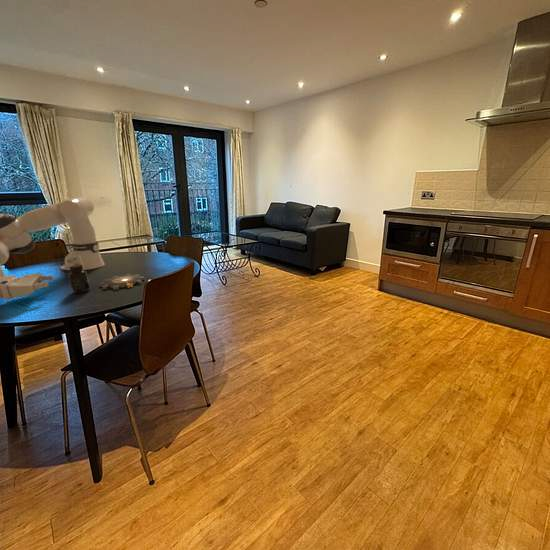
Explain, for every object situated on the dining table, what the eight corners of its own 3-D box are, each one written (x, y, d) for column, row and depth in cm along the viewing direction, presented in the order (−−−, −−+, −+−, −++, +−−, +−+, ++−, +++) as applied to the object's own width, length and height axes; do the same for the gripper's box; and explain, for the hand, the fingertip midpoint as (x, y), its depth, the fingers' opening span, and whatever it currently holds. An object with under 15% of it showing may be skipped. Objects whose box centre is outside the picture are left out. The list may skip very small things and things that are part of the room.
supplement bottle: (94, 289, 136) (88, 264, 132) (80, 294, 130) (74, 268, 126) (83, 288, 138) (77, 263, 134) (69, 293, 132) (62, 267, 128)
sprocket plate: (91, 289, 136) (90, 285, 135) (117, 276, 154) (116, 273, 153) (129, 290, 133) (128, 287, 133) (151, 277, 151) (151, 274, 150)
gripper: (19, 285, 131) (57, 280, 137) (3, 301, 114) (47, 295, 120) (15, 272, 129) (53, 267, 135) (-2, 286, 112) (43, 280, 118)
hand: (50, 280), depth 127 cm, fingers open, 8 cm apart
